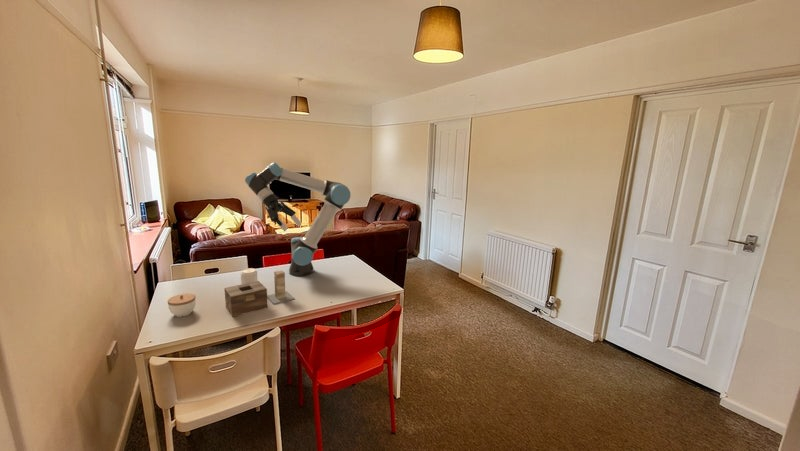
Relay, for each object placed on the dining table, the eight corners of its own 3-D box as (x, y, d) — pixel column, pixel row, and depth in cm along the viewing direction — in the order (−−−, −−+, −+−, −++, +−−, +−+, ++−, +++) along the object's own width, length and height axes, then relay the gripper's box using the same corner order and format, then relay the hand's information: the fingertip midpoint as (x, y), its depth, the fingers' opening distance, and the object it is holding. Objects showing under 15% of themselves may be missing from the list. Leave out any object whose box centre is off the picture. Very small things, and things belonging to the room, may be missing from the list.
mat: (266, 296, 171) (266, 295, 171) (286, 292, 178) (286, 291, 178) (273, 304, 163) (273, 303, 163) (294, 299, 170) (294, 298, 170)
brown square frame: (225, 307, 158) (224, 288, 156) (259, 298, 168) (258, 281, 166) (232, 317, 149) (231, 297, 147) (267, 308, 159) (267, 289, 157)
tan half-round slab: (242, 295, 172) (240, 273, 169) (241, 289, 179) (240, 268, 176) (258, 292, 176) (257, 271, 173) (257, 287, 182) (256, 267, 180)
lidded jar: (194, 306, 157) (192, 288, 155) (198, 314, 150) (197, 296, 148) (167, 312, 150) (165, 293, 148) (170, 321, 143) (168, 302, 141)
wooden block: (275, 296, 170) (274, 271, 167) (282, 294, 173) (281, 270, 170) (277, 299, 167) (276, 273, 164) (285, 297, 170) (284, 272, 167)
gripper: (277, 199, 189) (301, 226, 189) (248, 205, 165) (275, 236, 165) (285, 191, 187) (309, 218, 187) (257, 195, 163) (284, 227, 163)
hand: (293, 227), depth 176 cm, fingers open, 13 cm apart
